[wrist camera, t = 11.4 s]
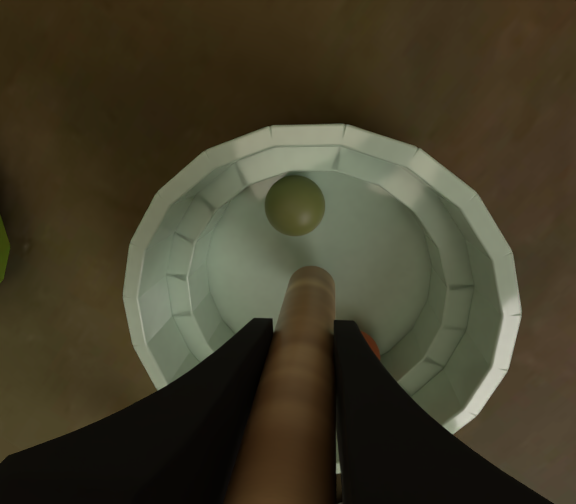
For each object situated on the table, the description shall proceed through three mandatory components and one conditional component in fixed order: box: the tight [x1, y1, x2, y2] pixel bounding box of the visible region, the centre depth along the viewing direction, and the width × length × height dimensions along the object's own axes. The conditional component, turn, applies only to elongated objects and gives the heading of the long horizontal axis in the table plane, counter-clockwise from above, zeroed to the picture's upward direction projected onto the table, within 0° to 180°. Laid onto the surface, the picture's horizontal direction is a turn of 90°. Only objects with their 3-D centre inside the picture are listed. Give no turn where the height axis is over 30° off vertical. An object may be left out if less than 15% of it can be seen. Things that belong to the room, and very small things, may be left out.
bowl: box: [123, 123, 522, 474], centre depth 14 cm, size 13×13×5 cm
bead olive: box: [265, 175, 325, 236], centre depth 13 cm, size 2×2×2 cm
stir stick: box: [223, 266, 336, 504], centre depth 9 cm, size 2×2×11 cm
